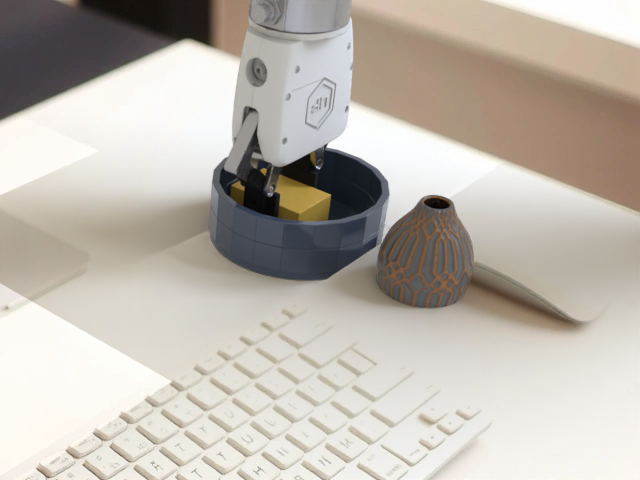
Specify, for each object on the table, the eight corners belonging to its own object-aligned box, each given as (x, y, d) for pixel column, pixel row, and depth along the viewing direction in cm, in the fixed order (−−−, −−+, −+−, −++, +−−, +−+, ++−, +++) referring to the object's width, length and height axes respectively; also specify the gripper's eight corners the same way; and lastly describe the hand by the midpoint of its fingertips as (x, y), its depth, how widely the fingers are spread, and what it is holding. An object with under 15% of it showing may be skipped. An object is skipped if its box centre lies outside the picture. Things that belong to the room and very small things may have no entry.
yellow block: (260, 198, 94) (263, 167, 93) (327, 226, 91) (331, 194, 89) (228, 216, 92) (230, 184, 90) (295, 246, 88) (299, 213, 86)
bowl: (277, 179, 99) (282, 128, 96) (412, 234, 91) (422, 180, 88) (174, 235, 90) (176, 181, 87) (313, 301, 82) (321, 244, 79)
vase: (426, 341, 78) (449, 236, 73) (352, 301, 82) (368, 199, 77) (481, 307, 82) (506, 204, 77) (407, 270, 86) (426, 171, 81)
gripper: (271, 46, 73) (250, 275, 84) (404, -10, 83) (370, 201, 94) (187, 19, 77) (178, 241, 88) (324, -31, 87) (300, 173, 98)
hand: (277, 218), depth 91 cm, fingers closed on yellow block, 4 cm apart
